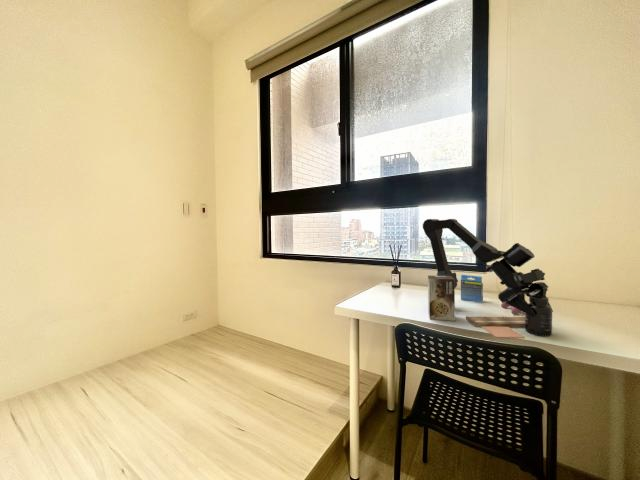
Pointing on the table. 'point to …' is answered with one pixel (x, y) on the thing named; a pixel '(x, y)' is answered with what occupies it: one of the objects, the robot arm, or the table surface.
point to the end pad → (502, 332)
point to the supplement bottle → (539, 317)
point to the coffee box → (441, 298)
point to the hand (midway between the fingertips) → (543, 314)
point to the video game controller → (514, 310)
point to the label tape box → (471, 288)
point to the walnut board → (496, 321)
